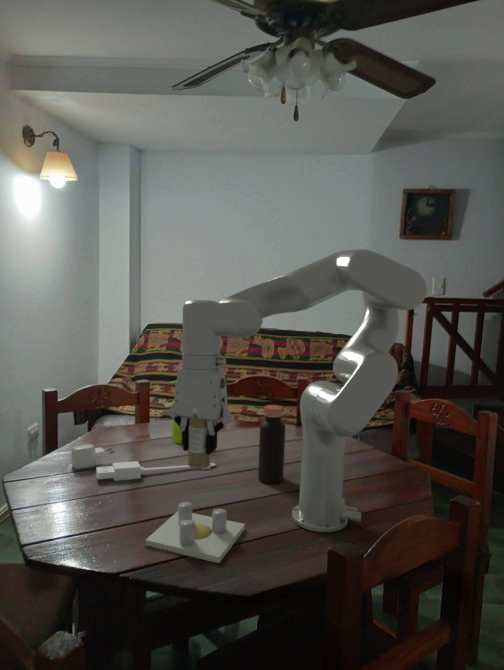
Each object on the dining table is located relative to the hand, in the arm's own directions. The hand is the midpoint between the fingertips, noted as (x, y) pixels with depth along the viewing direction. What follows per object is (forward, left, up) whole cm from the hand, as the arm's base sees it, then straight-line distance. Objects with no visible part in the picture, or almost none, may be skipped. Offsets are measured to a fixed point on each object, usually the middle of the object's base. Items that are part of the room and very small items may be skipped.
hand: (199, 449), depth 102 cm
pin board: (0, 0, -19) cm, 19 cm away
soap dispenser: (+32, -53, -19) cm, 65 cm away
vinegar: (-5, -35, -19) cm, 40 cm away
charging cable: (+25, -26, -19) cm, 41 cm away
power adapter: (+44, -24, -19) cm, 54 cm away
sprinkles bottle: (0, 0, -4) cm, 4 cm away
